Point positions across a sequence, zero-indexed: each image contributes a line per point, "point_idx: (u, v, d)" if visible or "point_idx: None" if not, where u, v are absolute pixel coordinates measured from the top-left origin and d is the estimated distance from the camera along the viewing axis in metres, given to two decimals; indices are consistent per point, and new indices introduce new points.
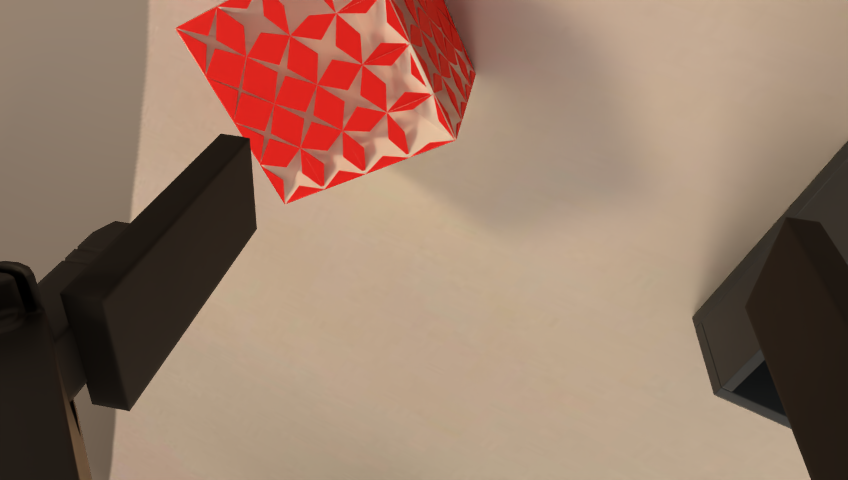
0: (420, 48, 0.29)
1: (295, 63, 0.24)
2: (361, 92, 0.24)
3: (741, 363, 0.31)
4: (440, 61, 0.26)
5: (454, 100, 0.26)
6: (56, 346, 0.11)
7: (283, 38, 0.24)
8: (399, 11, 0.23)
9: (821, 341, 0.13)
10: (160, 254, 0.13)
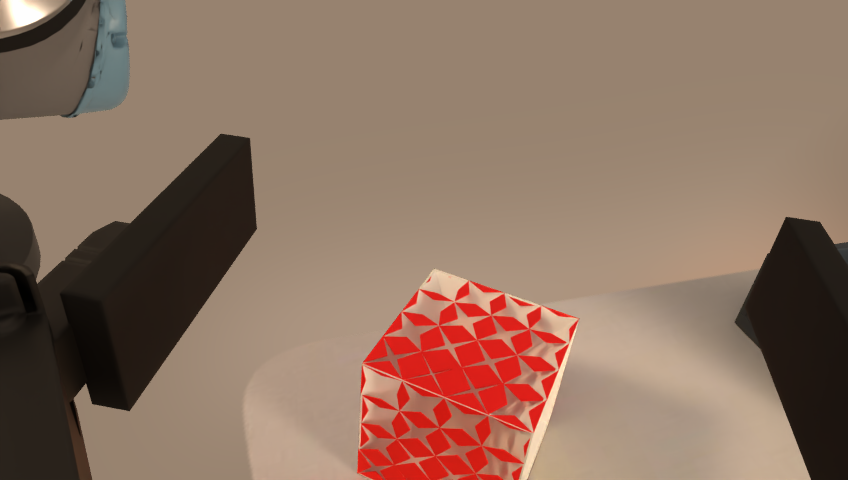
0: None
1: (454, 337, 0.31)
2: (505, 328, 0.32)
3: None
4: None
5: None
6: (56, 346, 0.11)
7: (436, 329, 0.31)
8: (483, 291, 0.34)
9: (821, 341, 0.13)
10: (160, 254, 0.13)
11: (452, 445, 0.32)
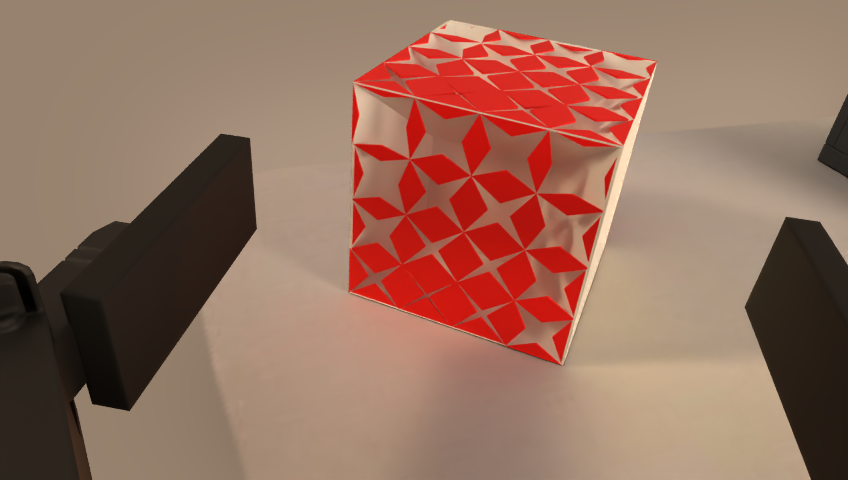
0: None
1: (486, 67, 0.21)
2: (557, 64, 0.22)
3: None
4: None
5: None
6: (56, 346, 0.11)
7: (458, 61, 0.22)
8: None
9: (821, 341, 0.13)
10: (160, 254, 0.13)
11: None
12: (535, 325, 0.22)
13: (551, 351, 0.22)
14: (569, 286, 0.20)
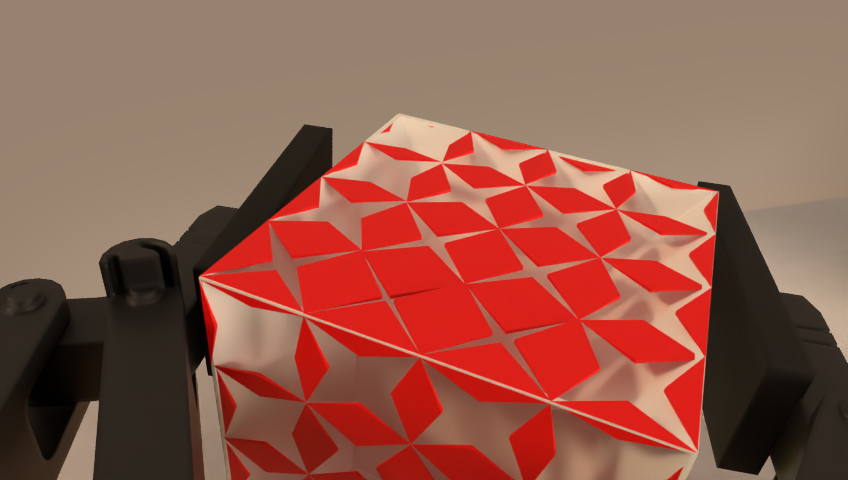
0: None
1: (443, 222, 0.13)
2: (561, 207, 0.14)
3: None
4: None
5: None
6: (187, 323, 0.12)
7: (400, 209, 0.13)
8: None
9: (716, 289, 0.14)
10: None
11: None
12: None
13: None
14: None
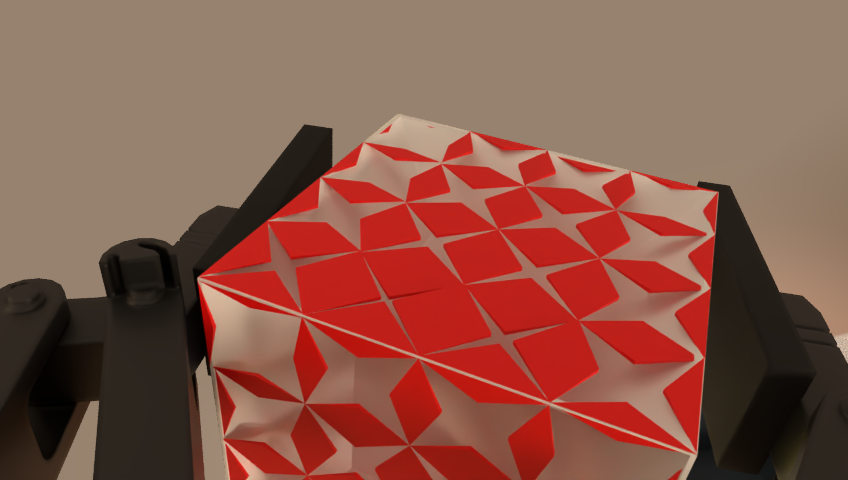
0: None
1: (442, 223, 0.13)
2: (560, 207, 0.14)
3: None
4: None
5: None
6: (187, 323, 0.12)
7: (399, 209, 0.13)
8: None
9: (716, 289, 0.14)
10: None
11: None
12: None
13: None
14: None
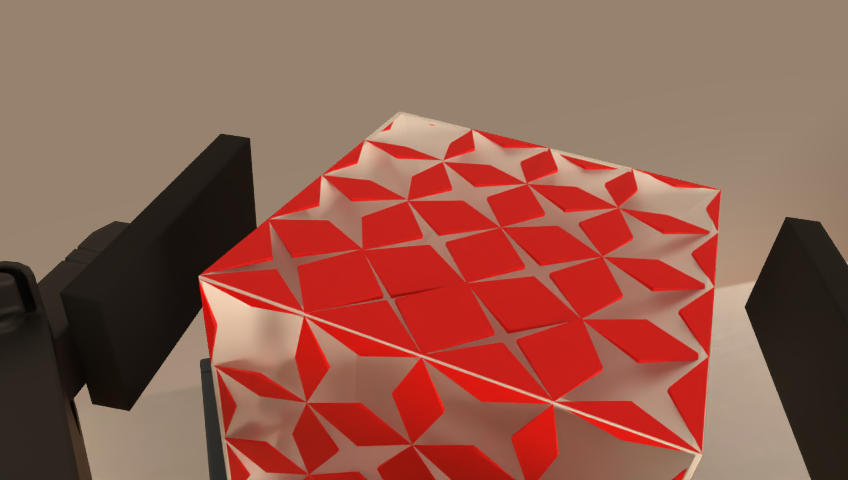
0: None
1: (445, 221, 0.13)
2: (563, 205, 0.14)
3: None
4: None
5: None
6: (56, 346, 0.11)
7: (401, 207, 0.13)
8: (503, 151, 0.16)
9: (821, 341, 0.13)
10: (160, 254, 0.13)
11: None
12: None
13: None
14: None
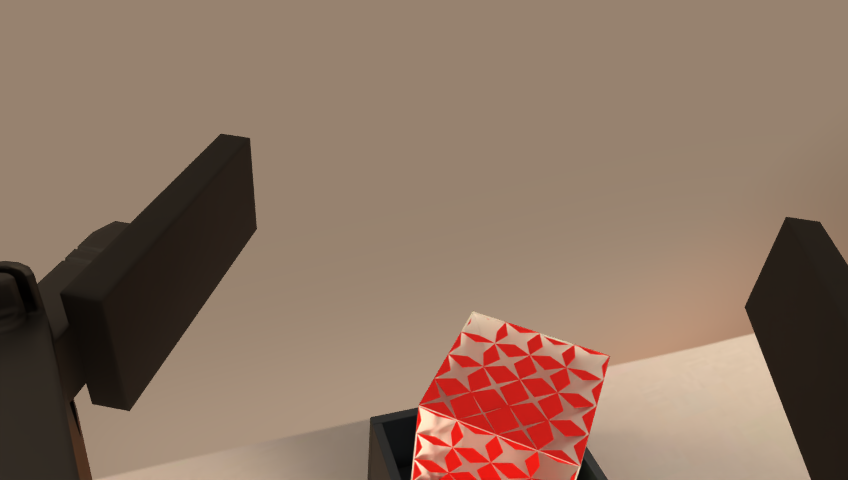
0: None
1: (498, 377, 0.34)
2: (544, 367, 0.34)
3: None
4: None
5: None
6: (56, 346, 0.11)
7: (481, 370, 0.34)
8: None
9: (821, 341, 0.13)
10: (160, 254, 0.13)
11: None
12: None
13: None
14: None
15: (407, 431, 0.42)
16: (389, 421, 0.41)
